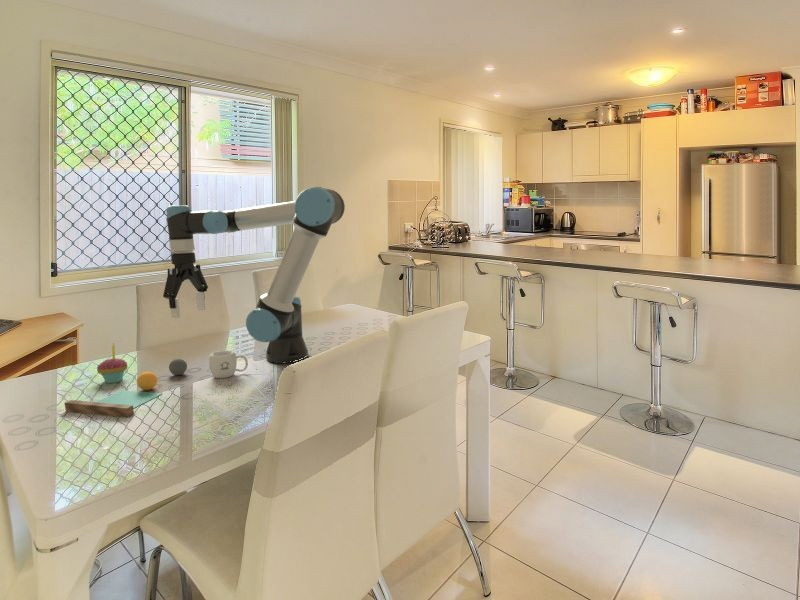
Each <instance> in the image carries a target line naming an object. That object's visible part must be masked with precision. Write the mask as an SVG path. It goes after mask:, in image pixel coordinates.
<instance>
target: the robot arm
mask: <svg viewBox="0 0 800 600" xmlns="http://www.w3.org/2000/svg"><path fill="white" fill-rule="evenodd" d="M344 201H345V200H344V199H343V197H342V196H341V194H339V192H337V191H336V190H333V189H330V188H323V187H321V186H313V187H308V188H306V189H303V190H302V191H301V192H300V193H299V194H298V195H297V197H296V199H295V200H293V201H285V202H280V203H279V202H278V203H273V204H266V205H265V204H264V205H258V206H251V207H245V208H239V209H231V210H222V211H221V210H217V209H216V210H215V209H211V210H199V211H198V210H196V211H195V210H193V211H192V210H191V207H190V206H189V205H169V206H167V207H166V212H165V213H166V219H165V220H166V222H167V223H166V224H167V225H166V226H167V230H168V231H167V232H168V240H169V250H170V252H172V253H171V254H170V261H171V264H172V265H174V267H173V268H172V267H168V268H167V277H166V282H165V285H164V291H163V296H162V297H163V298H164V299H167V300H168V303H169V309H170V314H171V319H175V318H176V319H180V318H181V314H180V312H181V311H180V302H179V298H177V296H178V294H179V292H180V288H181V286H182V283H183V282H185V280H186V281H187V280H189V281H190V283H191V284H192V286H193V287H194V288H195V289H196V292H195V296H196V306H197V307H196V308H197V311H206V303H205V302H206V298H205V297H206V296H205V292H208V289H209V286H208V283H207V281H206V279H205V277H204V274H203V271H202V269H201V265H200V264H197V263H196V262H197V260H196V253H195V252H194V251H195V249H196V248H195V241H194V235H200V234H201V235H208V234H211V235H217V234H224V233H229V234H230V233H236V232H241V231H248V230H255V229H262V228H268V227H269V228H271V227H276V226H285V225H291V224H292V225H293V227H294V228H293V232H292V233H291V235H290V238H289V241H288V243H287V245H286V247H285V249H284V252H283V255H282V257H281V259H280V261H279V265H278V266H277V269H276V271H275V274H274V277H273V278H272V281H271V283H270V285H269V288H268V290H267V292H266V293H264V294H261V296H260V297H259V300H258V302H257V304H256V306H255V308H254V309H252V310H251V311H250V312H249V313H248V314H247V315H246V316H247V317H246V318H245V327H246V329H247V332H248V335H250V336H251V338H252V339H254V340H255V341H258V342H259V343H268V345H267V348H266V352H265V360H266V359H267V360H268V361H267V360H266V361H267V362H269V361H270V362H269V363H272V362H274V363H273V364H284V363H283V362H290V361H291V362H293V361H295V360H298V361H299V359H301V358H303V359H304V360H306V359H307V358H306V357H305V356H307V355H308V356H309V350H308V347H307V345H306V341H305V339H304V337H303V321H302V320H303V319H302V318H303V317H302V316H303V315H302V302H301V298H300V297H298V296H296V294H297V292H298V289H299V288H300V285H301V283H302V280H303V278H304V276H305V273H306V271H307V268H308V266H309V264H310V262H311V260H312V258H313V256H314V253H315V251H316V249H317V246H318V244H319V241H320V240H321V239H324V238H325V237H327V235H328V233H329V230H330V228H331V226H332V225H333V224H336V223H338V221H340V220H341V219H342V217H343V216H344V213H345V208H346V207H345V206H346V205H345V202H344ZM195 263H196V264H195ZM304 357H305V358H306V359H305V358H304ZM303 359H301V360H302V361H304V360H303ZM299 362H300V361H299ZM295 363H297V361H296V362H295Z"/></svg>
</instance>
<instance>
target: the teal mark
mask: <svg viewBox="0 0 800 600" xmlns="http://www.w3.org/2000/svg"><path fill="white" fill-rule="evenodd" d="M162 395H163V393H160V392H150V391H149V392H147V391H138V390H137V391H135V390H124V389H122V390H120V391H118V392H115V393H112V394H111V395H108V396H106V397H104V398H102V399H100V400H97V401H96V402H100V403H111V404H122V405H133V410H134V409H136V408H138V407H140V406H142V405H144V404H146V403H147V402H149V401H152V400H153V399H155V398H158V397H160V396H162Z"/></svg>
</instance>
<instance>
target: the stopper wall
mask: <svg viewBox="0 0 800 600" xmlns="http://www.w3.org/2000/svg"><path fill="white" fill-rule="evenodd" d="M64 408H65V409H64V410H65V412H67V411H70V412H69V413H77V414H78V413H79V414H88V415H89V414H90V415H100V416H110V417H120V418H130V417H132V416H134V415H135V411H134V409H133V405H122V404H111V403H100V402H97V401H86V400H74V399H70V400H67V401H65V402H64Z"/></svg>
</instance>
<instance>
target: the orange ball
mask: <svg viewBox="0 0 800 600" xmlns="http://www.w3.org/2000/svg"><path fill="white" fill-rule="evenodd" d="M136 383H137V386H138V387H139V389H141V390H143V391H150V390H152V389H154V388H155V387H156V386H157V384H158V377H157V375H156V374H155V373H153V372H151V371H145V372H144V371H143V372H141V373H140V374H139V376H138V377H137V379H136Z"/></svg>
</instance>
